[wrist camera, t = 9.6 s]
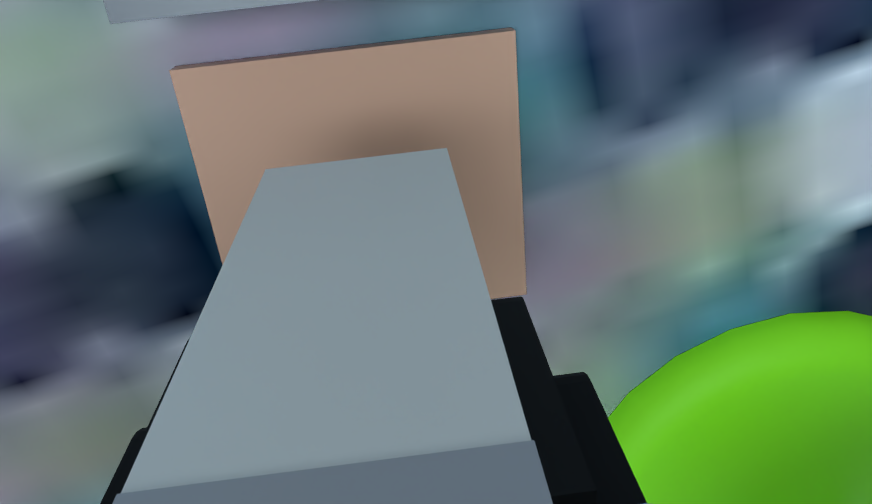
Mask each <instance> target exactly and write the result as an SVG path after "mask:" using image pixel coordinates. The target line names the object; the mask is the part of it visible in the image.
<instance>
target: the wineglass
mask: <svg viewBox="0 0 872 504" xmlns="http://www.w3.org/2000/svg"><path fill="white" fill-rule="evenodd" d="M608 419H609V422H610V424H611V426H612V428H613V430H614V432H615V435H616V437H617V439H618V441H619V443H620V445H621V448H622V450H623V452H624V454H625V456H626V458H627V461H628V463H629V465H630V467H631V469H632V471H633V474H634V476H635V478H636V480H637V482H638V484H639V487H640V489H641V491H642V493H643V495H644V497H645V500H646V502H647V503H649V504H872V316H868V315H864V314H859V313H854V312H850V311H836V312H813V313H790V314H786V315H783V316H779V317H775V318H771V319H768V320H764V321H760V322H756V323H753V324H749V325H745V326H741V327H738V328H734V329H730V330H728V331H726V332H724V333H722V334H720V335H718V336H716V337H714V338H712V339H710V340H708V341H706V342H704V343H702V344H700V345H698V346H696V347H694V348H692V349H690V350H688V351H686V352H684V353H682V354H680V355H678V356H676V357H674V358H673V359H672V360H670V361H669V362H668V363H667V364H665V365H664V366H663V367H661V368H660V369H659V370H658V371H656V372H655V373H654V374H652V375H651V376H650V377H648V378H647V379H646V380H645V381H643V382H642V383H641V384H639V385H638V386H637V387H636V388H634V389H633V390H632V391H630V392H629V393H628V394H627V396H626V397H625V398H624V399H623V400H622V402H621V403H620V404H619V405H618V406H617V408H616V409H615V410H614V411H613V412H612V414H611V415H610V416H609V417H608Z"/></svg>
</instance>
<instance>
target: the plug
mask: <svg viewBox="0 0 872 504" xmlns="http://www.w3.org/2000/svg"><path fill="white" fill-rule="evenodd" d="M113 504H553V502H552V499H551V495H550V492H549V489H548V485H547V482H546V478H545V475H544V472H543V468H542V465H541V461H540V458H539V455H538V451H537V448H536V445H535V441H534V440H531V437H530V433H529V430H528V427H527V423H526V420H525V416H524V413H523V409H522V406H521V402H520V399H519V395H518V392H517V389H516V385H515V382H514V378H513V375H512V371H511V368H510V364H509V361H508V357H507V354H506V351H505V347H504V344H503V340H502V337H501V333H500V330H499V326H498V323H497V319H496V316H495V313H494V309H493V306H492V302H491V299H490V295H489V292H488V288H487V285H486V281H485V278H484V275H483V271H482V268H481V264H480V261H479V257H478V254H477V250H476V247H475V243H474V240H473V237H472V233H471V230H470V226H469V223H468V219H467V216H466V212H465V209H464V205H463V202H462V199H461V195H460V192H459V188H458V185H457V181H456V178H455V174H454V171H453V167H452V164H451V161H450V157H449V154H448V150H447V148H441V149H433V150H424V151H416V152H407V153H399V154H390V155H382V156H374V157H365V158H357V159H348V160H340V161H331V162H323V163H314V164H306V165H297V166H289V167H280V168H272V169H265V172H264V174H263V176H262V178H261V181H260V183H259V185H258V187H257V189H256V192H255V194H254V196H253V198H252V201H251V203H250V205H249V207H248V210H247V212H246V214H245V216H244V219H243V221H242V223H241V225H240V228H239V230H238V232H237V234H236V236H235V239H234V241H233V243H232V245H231V248H230V250H229V252H228V254H227V257H226V259H225V261H224V263H223V266H222V268H221V270H220V272H219V275H218V277H217V279H216V281H215V284H214V286H213V288H212V290H211V292H210V295H209V297H208V299H207V301H206V304H205V306H204V308H203V310H202V313H201V315H200V317H199V319H198V322H197V324H196V326H195V328H194V331H193V333H192V335H191V337H190V339H189V342H188V344H187V346H186V348H185V351H184V353H183V355H182V357H181V360H180V362H179V364H178V366H177V369H176V371H175V373H174V375H173V378H172V380H171V382H170V384H169V386H168V389H167V391H166V393H165V395H164V398H163V400H162V402H161V404H160V407H159V409H158V411H157V413H156V416H155V418H154V420H153V422H152V425H151V427H150V429H149V431H148V434H147V436H146V438H145V440H144V442H143V445H142V447H141V449H140V451H139V454H138V456H137V458H136V460H135V463H134V465H133V467H132V469H131V472H130V474H129V476H128V478H127V481H126V483H125V485H124V487H123V489H122V492H121V493H120V494H117V495H116V497H115V499H114V501H113Z"/></svg>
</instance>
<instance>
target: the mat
mask: <svg viewBox="0 0 872 504" xmlns="http://www.w3.org/2000/svg"><path fill="white" fill-rule="evenodd" d="M169 71H170V75H171V79H172V82H173V86H174V90H175V93H176V97H177V100H178V104H179V108H180V111H181V115H182V119H183V122H184V126H185V130H186V133H187V137H188V141H189V144H190V148H191V152H192V155H193V159H194V162H195V166H196V170H197V173H198V177H199V181H200V184H201V188H202V192H203V195H204V199H205V203H206V206H207V210H208V213H209V217H210V221H211V224H212V228H213V232H214V235H215V239H216V243H217V246H218V250H219V254H220V257H221V261H222V264H223V263H224V261H225V259H226V257H227V254H228V252H229V250H230V248H231V245H232V243H233V241H234V239H235V236H236V234H237V232H238V230H239V228H240V225H241V223H242V221H243V219H244V216H245V214H246V212H247V210H248V207H249V205H250V203H251V201H252V198H253V196H254V194H255V192H256V189H257V187H258V185H259V183H260V181H261V178H262V176H263V174H264V172H265V169H272V168H280V167H289V166H297V165H306V164H314V163H323V162H331V161H340V160H348V159H357V158H365V157H374V156H382V155H390V154H399V153H407V152H416V151H424V150H433V149H441V148H447V150H448V154H449V157H450V161H451V164H452V167H453V171H454V174H455V178H456V181H457V185H458V188H459V192H460V195H461V199H462V202H463V205H464V209H465V212H466V216H467V219H468V223H469V226H470V230H471V233H472V237H473V240H474V243H475V247H476V250H477V254H478V257H479V261H480V264H481V268H482V271H483V275H484V278H485V281H486V285H487V288H488V292H489V295H490V299H495V298H503V297H511V296H519V295H526V294H527V291H526V268H525V244H524V221H523V197H522V174H521V150H520V126H519V103H518V79H517V56H516V32H515V30H514V29H513V28H503V29H494V30H485V31H477V32H468V33H459V34H451V35H442V36H434V37H425V38H416V39H408V40H399V41H390V42H382V43H373V44H364V45H356V46H347V47H338V48H330V49H321V50H312V51H304V52H295V53H286V54H278V55H269V56H260V57H252V58H243V59H234V60H226V61H217V62H208V63H200V64H191V65H182V66H175V67H174V68H172V69H171V70H169Z"/></svg>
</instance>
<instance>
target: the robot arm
mask: <svg viewBox="0 0 872 504" xmlns="http://www.w3.org/2000/svg"><path fill="white" fill-rule="evenodd" d="M491 302H492V306H493V309H494V313H495V316H496V319H497V323H498V326H499V330H500V333H501V337H502V340H503V344H504V347H505V351H506V354H507V357H508V361H509V364H510V368H511V371H512V375H513V378H514V382H515V385H516V389H517V392H518V395H519V399H520V402H521V406H522V409H523V413H524V416H525V420H526V423H527V427H528V430H529V433H530V437H531V440H534V441H535V445H536V448H537V451H538V455H539V458H540V461H541V465H542V468H543V472H544V475H545V478H546V482H547V485H548V489H549V492H550V495H551V499H552V502H553V504H649V503H647V502H646V500H645V497H644V495H643V493H642V491H641V489H640V487H639V484H638V482H637V480H636V478H635V476H634V474H633V471H632V469H631V467H630V465H629V463H628V461H627V458H626V456H625V454H624V452H623V450H622V448H621V445H620V443H619V441H618V439H617V437H616V435H615V432H614V430H613V428H612V426H611V424H610V422H609V419H608V417H607V415H606V413H605V411H604V409H603V406H602V404H601V402H600V400H599V398H598V396H597V393H596V391H595V389H594V387H593V385H592V383H591V381H590V379H589V377H588V375H587V374H586V373H584V372H580V373H572V374H564V375H556V376H553V375H552V372H551V370H550V367H549V365H548V362H547V359H546V357H545V354H544V352H543V349H542V346H541V344H540V341H539V339H538V336H537V333H536V331H535V328H534V325H533V323H532V320H531V318H530V315H529V312H528V310H527V307H526V305H525V302H524V300H523V298H522V297H513V298H505V299H497V300H491ZM188 342H189V340H188V341H187V343H186V345H185V348H186V346H187V344H188ZM185 348H184V350H183V352H182V354H181V356H180V358H179V360H178V363H177V365H176V367H175V369H174V371H173V373H172V376H171V378H170V380H169V382H168V384H167V386H166V388H165V391H164V393H163V395H162V397H161V399H160V401H159V404H158V406H157V408H156V410H155V412H154V414H153V416H152V419H151V421H150V423H149V425H148V427H147V428H142V429H140V430H139V431H137V432H136V433H135V435H134V436H133V438H132V439H131V441H130V443H129V446H128V448H127V450H126V452H125V454H124V456H123V458H122V460H121V462H120V464H119V466H118V468H117V470H116V472H115V474H114V477H113V479H112V481H111V483H110V485H109V487H108V489H107V491H106V493H105V495H104V497H103V499H102V501H101V503H100V504H113V501H114V499H115V497H116V495H117V494H120V493H121V492H122V489H123V487H124V485H125V483H126V481H127V478H128V476H129V474H130V472H131V469H132V467H133V465H134V463H135V460H136V458H137V456H138V454H139V451H140V449H141V447H142V445H143V442H144V440H145V438H146V436H147V434H148V431H149V429H150V427H151V425H152V422H153V420H154V418H155V416H156V413H157V411H158V409H159V407H160V404H161V402H162V400H163V398H164V395H165V393H166V391H167V389H168V386H169V384H170V382H171V380H172V378H173V375H174V373H175V371H176V369H177V366H178V364H179V362H180V360H181V357H182V355H183V353H184V351H185Z"/></svg>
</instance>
